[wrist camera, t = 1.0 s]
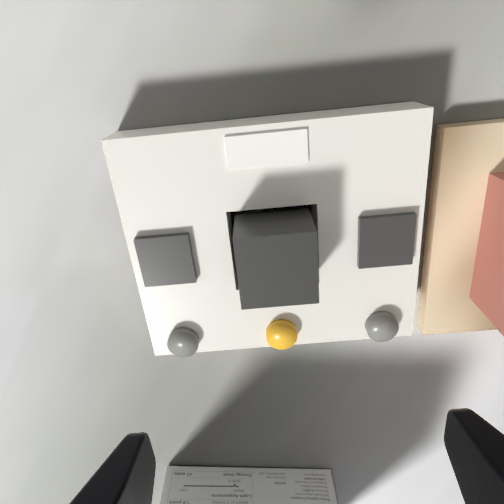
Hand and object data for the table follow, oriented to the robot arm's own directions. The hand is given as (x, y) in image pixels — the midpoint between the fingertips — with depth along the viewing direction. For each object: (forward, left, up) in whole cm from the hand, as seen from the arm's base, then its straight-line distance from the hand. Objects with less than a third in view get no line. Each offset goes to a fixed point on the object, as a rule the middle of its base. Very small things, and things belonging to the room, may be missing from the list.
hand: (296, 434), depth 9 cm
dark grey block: (0, 0, -9) cm, 9 cm away
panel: (0, 0, -11) cm, 11 cm away
